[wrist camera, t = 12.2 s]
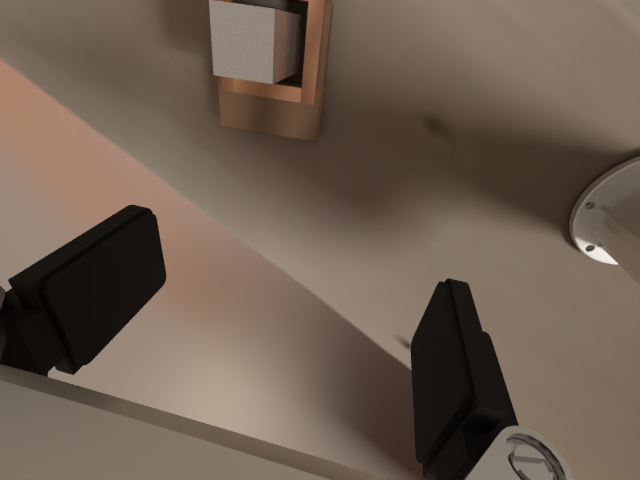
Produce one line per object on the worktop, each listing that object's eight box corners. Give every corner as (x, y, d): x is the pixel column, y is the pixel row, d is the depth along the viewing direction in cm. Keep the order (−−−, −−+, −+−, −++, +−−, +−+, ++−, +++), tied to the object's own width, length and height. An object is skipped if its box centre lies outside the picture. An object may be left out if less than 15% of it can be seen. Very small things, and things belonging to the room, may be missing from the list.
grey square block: (302, 15, 28) (274, 8, 21) (298, 72, 31) (272, 84, 23) (253, 8, 28) (208, -1, 21) (253, 65, 31) (213, 75, 23)
